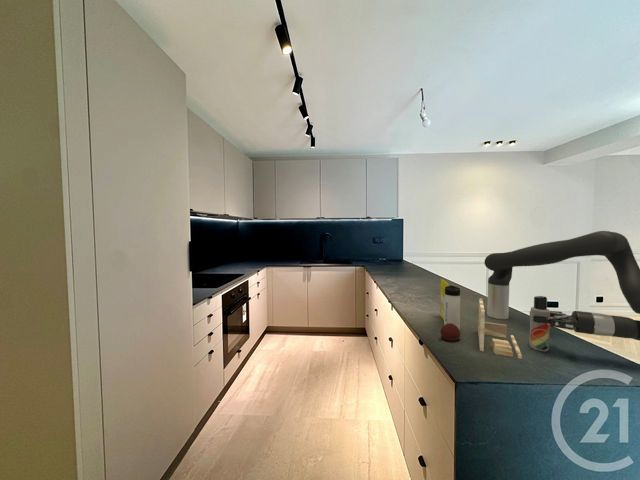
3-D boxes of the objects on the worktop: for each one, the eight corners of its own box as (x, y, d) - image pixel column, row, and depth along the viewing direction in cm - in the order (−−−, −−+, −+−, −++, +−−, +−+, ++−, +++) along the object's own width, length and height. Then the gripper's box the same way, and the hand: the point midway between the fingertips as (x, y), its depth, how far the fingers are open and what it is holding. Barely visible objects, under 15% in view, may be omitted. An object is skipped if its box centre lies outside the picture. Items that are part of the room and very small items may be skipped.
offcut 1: (492, 342, 102) (492, 338, 102) (507, 345, 100) (507, 341, 100) (495, 349, 97) (495, 345, 97) (511, 352, 95) (511, 347, 95)
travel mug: (458, 328, 123) (459, 285, 122) (460, 334, 117) (461, 289, 116) (443, 327, 125) (444, 284, 124) (444, 332, 119) (445, 288, 118)
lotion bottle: (544, 353, 97) (546, 299, 96) (526, 346, 102) (527, 295, 101) (551, 349, 100) (553, 296, 99) (534, 343, 105) (535, 293, 104)
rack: (478, 334, 117) (479, 298, 116) (513, 340, 110) (514, 302, 110) (479, 353, 99) (481, 310, 99) (521, 361, 93) (523, 316, 93)
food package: (449, 326, 126) (450, 284, 125) (446, 326, 126) (447, 284, 125) (441, 315, 141) (442, 278, 140) (439, 315, 141) (439, 278, 140)
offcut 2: (491, 347, 103) (491, 342, 103) (507, 349, 101) (507, 344, 101) (495, 354, 97) (495, 349, 97) (512, 357, 95) (513, 352, 95)
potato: (437, 341, 110) (437, 324, 109) (443, 335, 116) (444, 319, 116) (456, 346, 105) (457, 329, 104) (462, 339, 111) (462, 323, 111)
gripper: (584, 307, 100) (528, 301, 108) (601, 319, 87) (536, 311, 95) (583, 327, 100) (527, 319, 108) (600, 341, 87) (535, 332, 96)
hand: (531, 316), depth 102 cm, fingers closed on lotion bottle, 5 cm apart
